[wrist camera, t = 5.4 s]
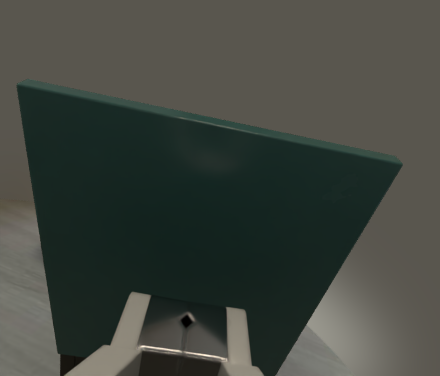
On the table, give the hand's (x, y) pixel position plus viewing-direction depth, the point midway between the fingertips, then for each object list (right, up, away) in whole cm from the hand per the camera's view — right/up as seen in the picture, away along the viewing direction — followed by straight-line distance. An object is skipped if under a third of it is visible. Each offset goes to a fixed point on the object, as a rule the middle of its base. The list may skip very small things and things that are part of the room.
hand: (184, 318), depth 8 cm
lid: (0, 0, +5) cm, 5 cm away
